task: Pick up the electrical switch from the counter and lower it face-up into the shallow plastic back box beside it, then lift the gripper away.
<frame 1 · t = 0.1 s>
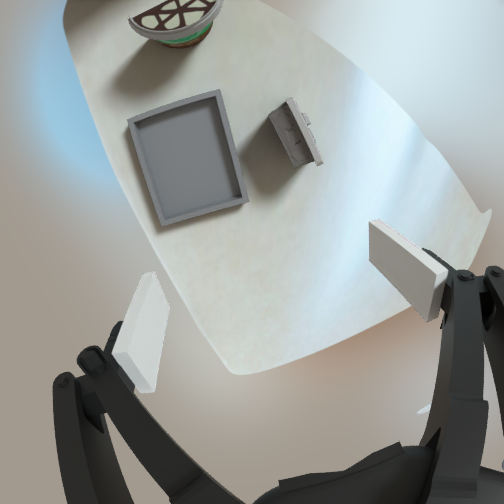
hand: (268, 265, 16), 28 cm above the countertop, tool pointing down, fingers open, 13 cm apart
food container: (188, 36, 31), on the countertop
back box: (189, 157, 39), on the countertop
electrical switch: (289, 131, 39), on the countertop
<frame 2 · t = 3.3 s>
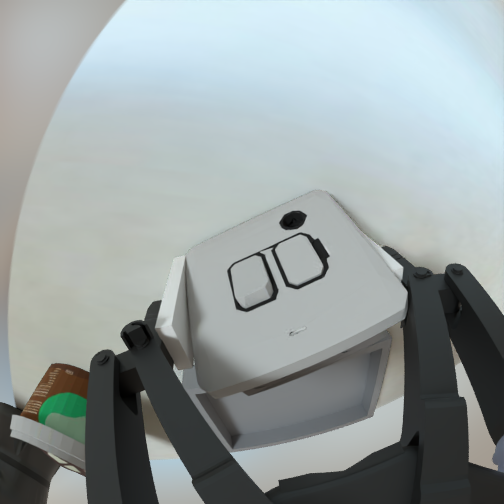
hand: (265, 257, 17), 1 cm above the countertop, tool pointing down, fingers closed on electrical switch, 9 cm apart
food container: (99, 388, 22), on the countertop
back box: (292, 392, 24), on the countertop
electrical switch: (271, 250, 18), on the countertop, touching gripper
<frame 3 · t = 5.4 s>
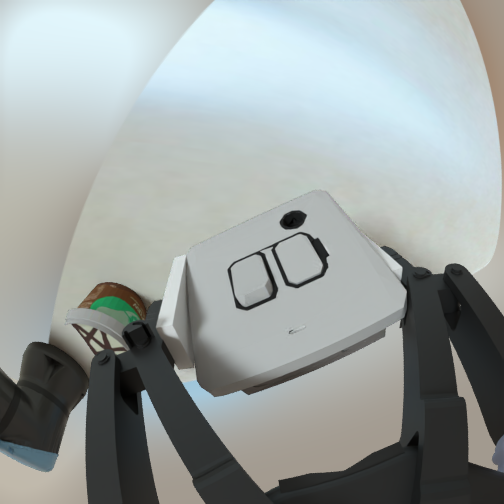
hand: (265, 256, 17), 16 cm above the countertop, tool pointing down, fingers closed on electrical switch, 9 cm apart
food container: (131, 303, 36), on the countertop
electrical switch: (272, 249, 18), point 15 cm above the countertop, touching gripper
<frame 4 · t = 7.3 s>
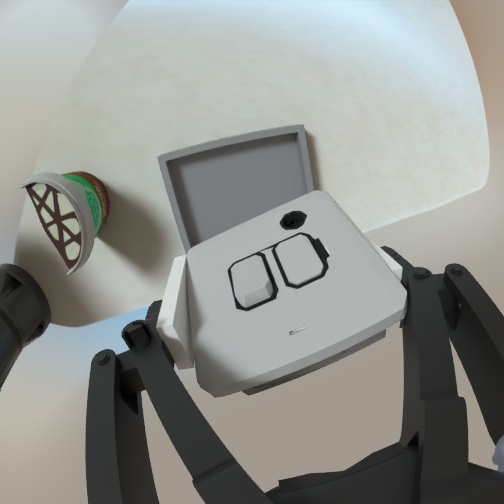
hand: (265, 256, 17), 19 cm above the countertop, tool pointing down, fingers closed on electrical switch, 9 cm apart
food container: (95, 195, 32), on the countertop
back box: (241, 189, 34), on the countertop
electrical switch: (272, 250, 18), point 18 cm above the countertop, touching gripper
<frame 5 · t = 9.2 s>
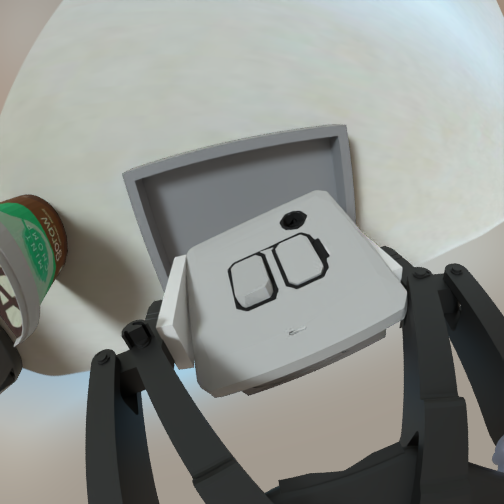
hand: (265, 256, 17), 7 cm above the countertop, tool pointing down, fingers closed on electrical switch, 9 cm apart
food container: (49, 226, 21), on the countertop
back box: (250, 219, 24), on the countertop
electrical switch: (272, 250, 18), point 6 cm above the countertop, touching gripper
when the fingers open (3 cm above the countertop, at t = 11.0 s): electrical switch drops 2 cm, resting on back box.
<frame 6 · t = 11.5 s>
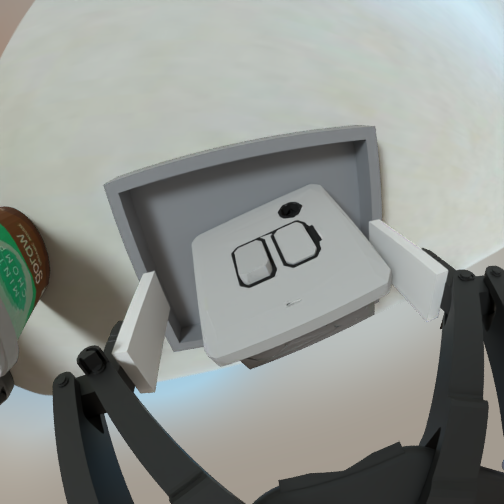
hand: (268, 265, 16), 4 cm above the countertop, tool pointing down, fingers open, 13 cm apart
food container: (29, 242, 18), on the countertop
back box: (258, 237, 20), on the countertop
electrical switch: (270, 238, 20), resting on back box
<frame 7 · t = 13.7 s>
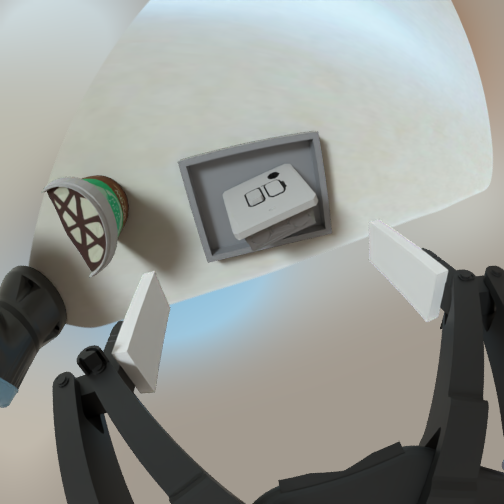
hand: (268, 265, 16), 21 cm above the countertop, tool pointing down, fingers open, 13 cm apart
food container: (114, 198, 34), on the countertop
back box: (258, 193, 36), on the countertop
electrical switch: (264, 193, 35), resting on back box
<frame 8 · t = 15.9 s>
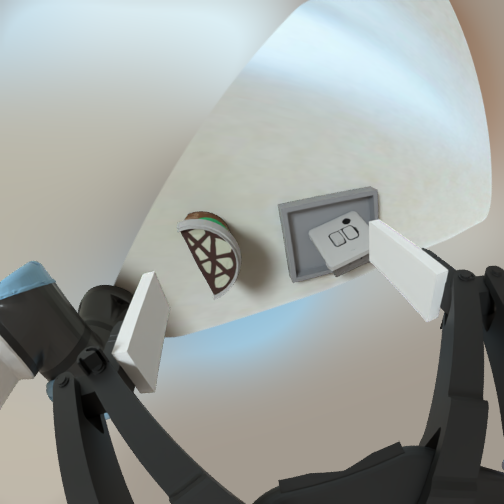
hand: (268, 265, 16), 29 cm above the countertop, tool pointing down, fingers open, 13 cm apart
food container: (217, 231, 45), on the countertop
back box: (330, 231, 48), on the countertop
electrical switch: (335, 232, 47), resting on back box
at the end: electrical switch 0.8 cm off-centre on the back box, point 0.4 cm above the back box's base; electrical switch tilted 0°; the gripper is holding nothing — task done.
